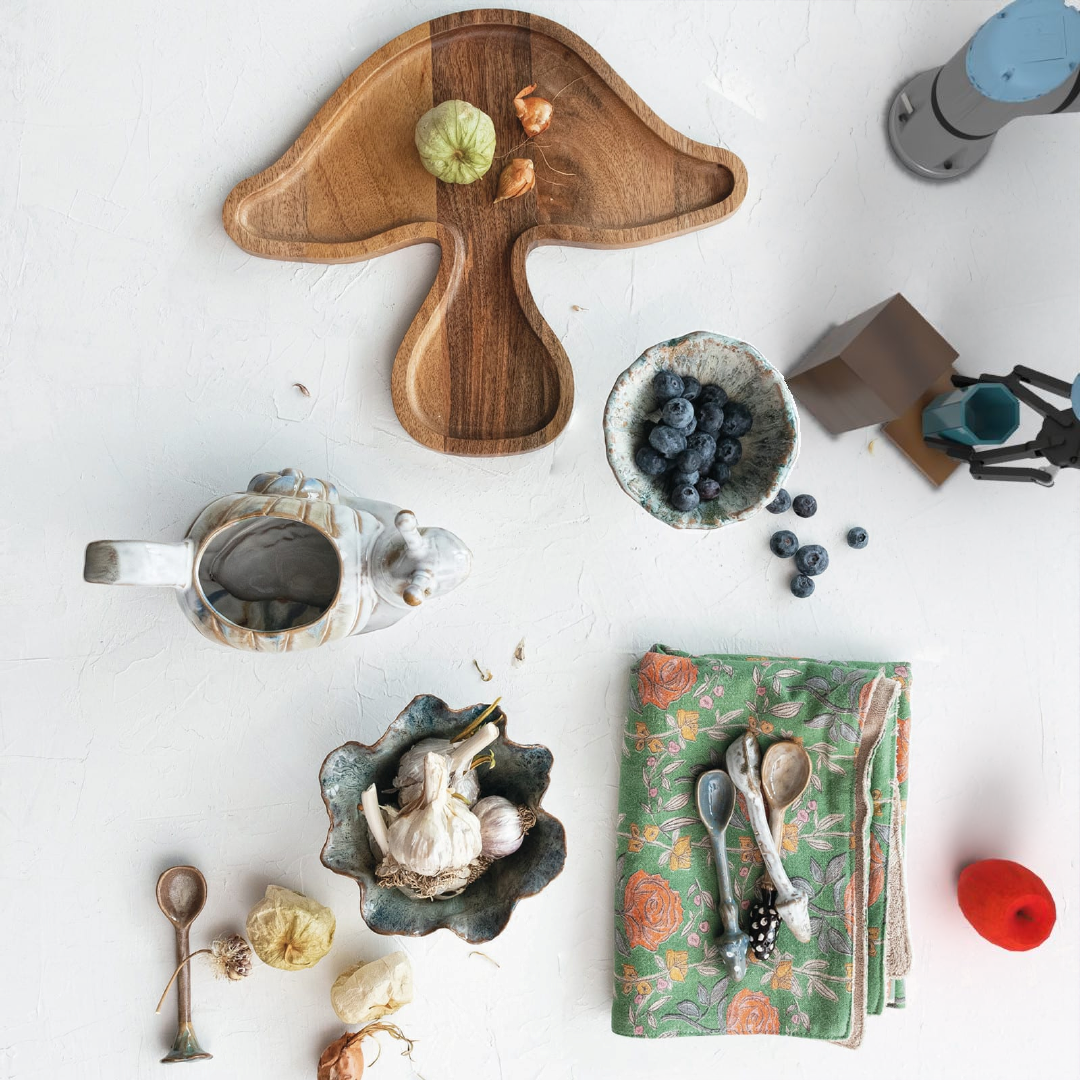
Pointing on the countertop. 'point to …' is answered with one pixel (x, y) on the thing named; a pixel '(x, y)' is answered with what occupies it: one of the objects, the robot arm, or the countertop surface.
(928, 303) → the countertop surface
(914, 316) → the block
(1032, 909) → the apple
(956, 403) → the cup
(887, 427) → the mat
